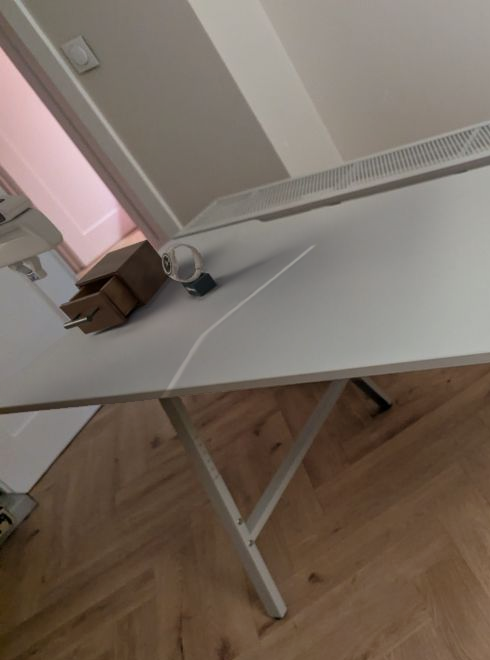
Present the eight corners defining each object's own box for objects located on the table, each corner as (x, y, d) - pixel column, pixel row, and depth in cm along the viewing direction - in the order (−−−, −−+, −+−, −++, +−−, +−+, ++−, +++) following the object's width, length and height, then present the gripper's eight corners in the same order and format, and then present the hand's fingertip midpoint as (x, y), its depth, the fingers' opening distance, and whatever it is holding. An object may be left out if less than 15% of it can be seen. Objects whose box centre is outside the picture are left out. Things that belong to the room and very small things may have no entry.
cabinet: (145, 304, 124) (116, 270, 118) (104, 317, 126) (74, 284, 121) (172, 272, 135) (147, 239, 130) (134, 284, 138) (107, 252, 132)
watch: (182, 299, 119) (149, 257, 112) (211, 278, 123) (180, 236, 117) (194, 302, 116) (161, 259, 109) (223, 280, 120) (193, 237, 113)
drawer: (113, 335, 114) (85, 306, 109) (73, 348, 116) (45, 320, 111) (152, 289, 128) (129, 261, 123) (116, 300, 130) (92, 274, 125)
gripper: (-77, 241, 98) (-12, 301, 106) (11, 207, 94) (71, 272, 102) (-51, 226, 103) (9, 284, 111) (33, 193, 99) (89, 256, 107)
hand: (39, 278), depth 106 cm, fingers closed
